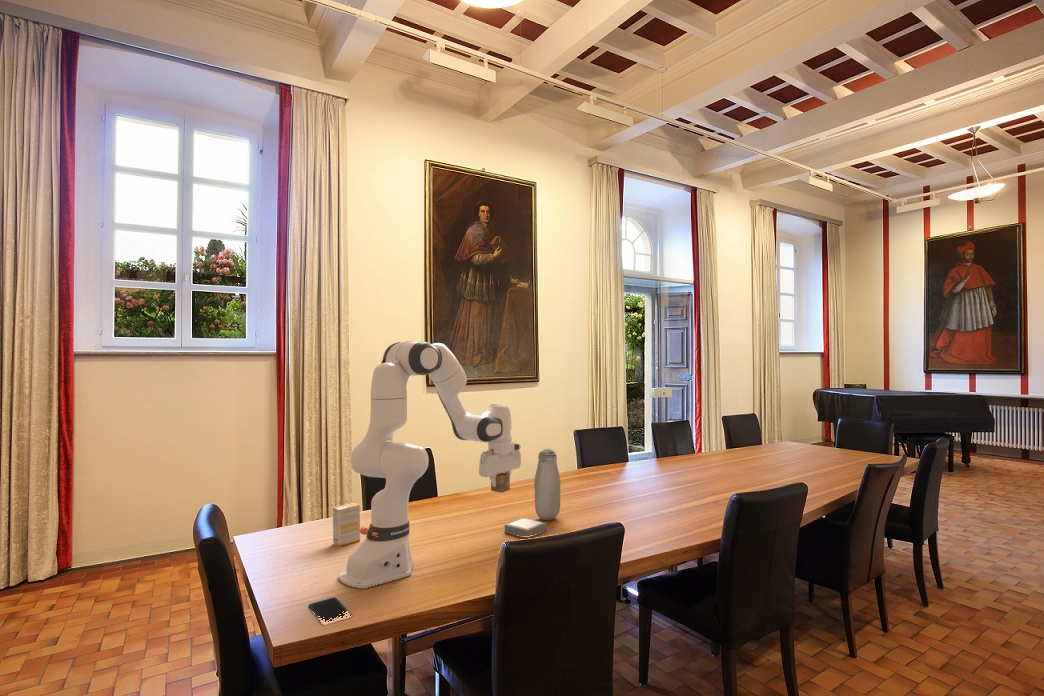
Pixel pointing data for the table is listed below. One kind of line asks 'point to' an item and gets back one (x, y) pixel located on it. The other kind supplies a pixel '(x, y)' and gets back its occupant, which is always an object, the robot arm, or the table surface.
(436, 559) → the table surface
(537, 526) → the base block
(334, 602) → the cell phone
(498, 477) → the walnut block
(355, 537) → the supplement box
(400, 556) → the robot arm
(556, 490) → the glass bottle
